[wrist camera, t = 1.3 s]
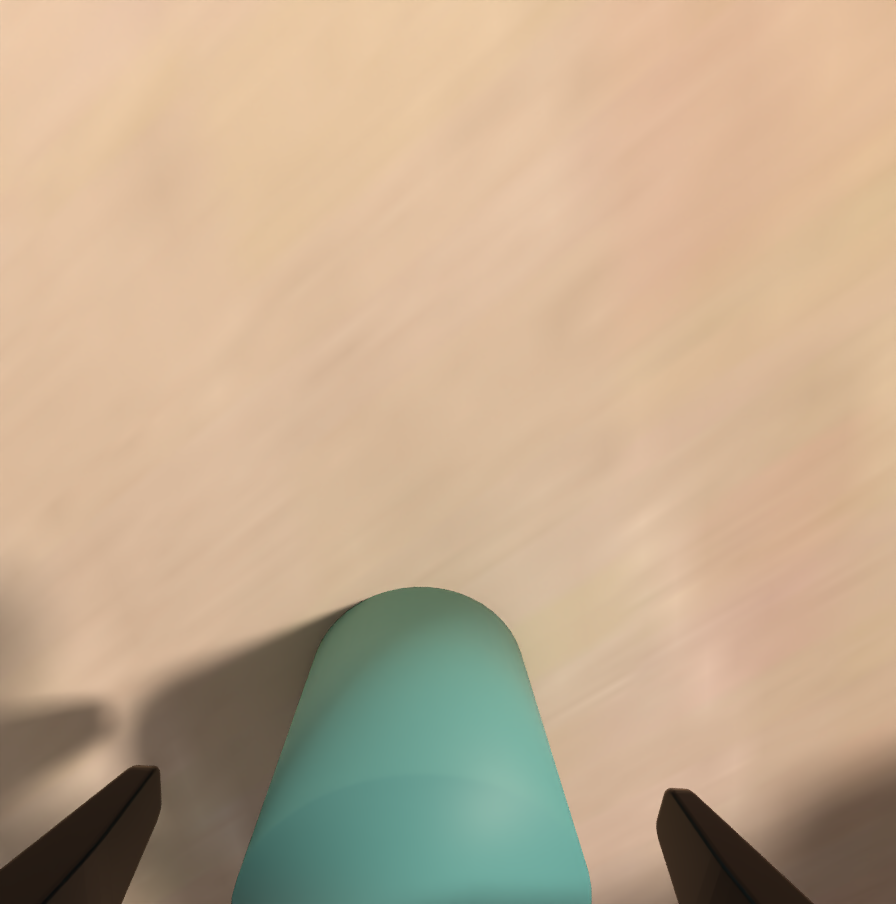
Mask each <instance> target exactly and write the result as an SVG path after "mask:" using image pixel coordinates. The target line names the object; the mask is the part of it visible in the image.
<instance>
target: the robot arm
mask: <svg viewBox="0 0 896 904" xmlns="http://www.w3.org/2000/svg"><path fill="white" fill-rule="evenodd" d="M160 810H161V781H160V770H159V768H158V767H156V766H145V765H136V766H132V767H130V768H128V769H127V770H126V771H124V772H123V773H122V774H121V775H119V776H118V777H117V778H116V779H114V780H113V781H112V782H110V783H109V784H108V785H107V786H105V787H104V788H103V789H102V790H100V791H99V792H98V793H97V794H95V795H94V796H93V797H91V798H90V799H89V800H88V801H86V802H85V803H84V804H83V805H81V806H80V807H79V808H78V809H76V810H75V811H74V812H72V813H71V814H70V815H69V816H67V817H66V818H65V819H64V820H62V821H61V822H60V823H59V824H57V825H56V826H55V827H53V828H52V829H51V830H50V831H48V832H47V833H46V834H45V835H43V836H42V837H41V838H40V839H38V840H37V841H36V842H34V843H33V844H32V845H31V846H29V847H28V848H27V849H26V850H24V851H23V852H22V853H21V854H19V855H18V856H17V857H15V858H14V859H13V860H12V861H10V862H9V863H8V864H7V865H5V866H4V867H3V868H2V869H0V904H121V903H122V901H123V899H124V897H125V894H126V892H127V890H128V887H129V885H130V883H131V880H132V878H133V876H134V873H135V871H136V869H137V866H138V864H139V862H140V859H141V857H142V855H143V852H144V850H145V848H146V845H147V843H148V841H149V838H150V836H151V834H152V831H153V829H154V827H155V825H156V822H157V820H158V817H159V814H160ZM656 829H657V835H658V839H659V843H660V846H661V849H662V852H663V855H664V859H665V862H666V865H667V868H668V871H669V874H670V878H671V881H672V884H673V887H674V890H675V894H676V897H677V900H678V903H679V904H813V903H812V902H811V901H810V900H809V899H808V898H807V897H806V896H805V895H804V894H803V893H802V892H800V891H799V890H798V889H797V888H796V887H795V886H794V885H793V884H792V883H791V882H790V881H789V880H788V879H786V878H785V877H784V876H783V875H782V874H781V873H780V872H779V871H778V870H777V869H776V868H775V867H773V866H772V865H771V864H770V863H769V862H768V861H767V860H766V859H765V858H764V857H763V856H762V855H761V854H759V853H758V852H757V851H756V850H755V849H754V848H753V847H752V846H751V845H750V844H749V843H748V842H746V841H745V840H744V839H743V838H742V837H741V836H740V835H739V834H738V833H737V832H736V831H735V830H733V829H732V828H731V827H730V826H729V825H728V824H727V823H726V822H725V821H724V820H723V819H722V818H721V817H719V816H718V815H717V814H716V813H715V812H714V811H713V810H712V809H711V808H710V807H709V806H708V805H706V804H705V803H704V802H703V801H702V800H701V799H700V798H699V797H698V796H697V795H696V794H694V793H693V792H692V791H690V790H688V789H680V788H669V789H667V790H666V791H665V793H664V796H663V800H662V803H661V807H660V811H659V814H658V818H657V823H656Z"/></svg>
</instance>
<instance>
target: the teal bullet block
mask: <svg viewBox="0 0 896 904" xmlns="http://www.w3.org/2000/svg"><path fill="white" fill-rule="evenodd" d="M231 904H591V883H590V878H589V873H588V869H587V866H586V862H585V859H584V856H583V853H582V849H581V846H580V843H579V840H578V837H577V833H576V830H575V827H574V824H573V820H572V817H571V814H570V811H569V807H568V804H567V801H566V798H565V794H564V791H563V788H562V785H561V781H560V778H559V775H558V772H557V769H556V765H555V762H554V759H553V756H552V752H551V749H550V746H549V743H548V739H547V736H546V733H545V730H544V726H543V723H542V720H541V717H540V713H539V710H538V707H537V704H536V701H535V697H534V694H533V691H532V688H531V684H530V681H529V678H528V675H527V671H526V668H525V665H524V662H523V658H522V655H521V652H520V650H519V647H518V644H517V642H516V640H515V638H514V636H513V635H512V633H511V631H510V630H509V629H508V627H507V626H506V625H505V623H504V622H503V621H502V620H501V619H500V618H499V617H498V616H497V615H496V614H495V613H494V612H492V611H491V610H490V609H488V608H487V607H486V606H484V605H483V604H481V603H479V602H477V601H476V600H474V599H472V598H470V597H467V596H465V595H462V594H460V593H457V592H453V591H449V590H445V589H439V588H431V587H411V588H401V589H396V590H392V591H387V592H384V593H381V594H378V595H376V596H373V597H371V598H369V599H367V600H365V601H363V602H361V603H359V604H357V605H356V606H354V607H353V608H351V609H350V610H348V611H347V612H346V613H345V614H344V615H342V616H341V617H340V618H339V619H338V620H337V621H336V622H335V623H334V624H333V626H332V627H331V628H330V629H329V630H328V632H327V633H326V635H325V636H324V638H323V639H322V641H321V643H320V645H319V648H318V650H317V652H316V655H315V658H314V660H313V663H312V666H311V669H310V672H309V675H308V678H307V680H306V683H305V686H304V689H303V692H302V695H301V698H300V700H299V703H298V706H297V709H296V712H295V715H294V718H293V720H292V723H291V726H290V729H289V732H288V735H287V738H286V740H285V743H284V746H283V749H282V752H281V755H280V757H279V760H278V763H277V766H276V769H275V772H274V775H273V777H272V780H271V783H270V786H269V789H268V792H267V795H266V797H265V800H264V803H263V806H262V809H261V812H260V815H259V817H258V820H257V823H256V826H255V829H254V832H253V835H252V837H251V840H250V843H249V846H248V849H247V852H246V855H245V857H244V860H243V863H242V866H241V869H240V872H239V875H238V877H237V881H236V884H235V888H234V891H233V895H232V902H231Z"/></svg>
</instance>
